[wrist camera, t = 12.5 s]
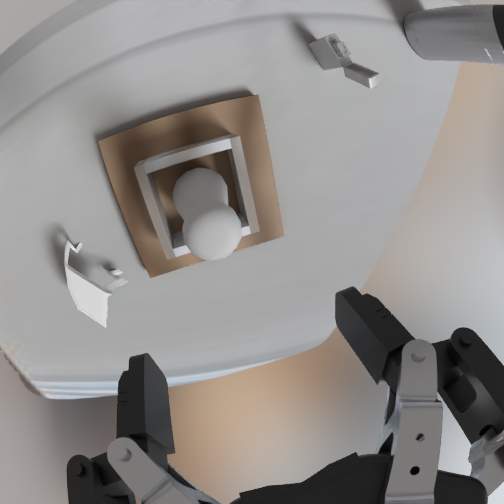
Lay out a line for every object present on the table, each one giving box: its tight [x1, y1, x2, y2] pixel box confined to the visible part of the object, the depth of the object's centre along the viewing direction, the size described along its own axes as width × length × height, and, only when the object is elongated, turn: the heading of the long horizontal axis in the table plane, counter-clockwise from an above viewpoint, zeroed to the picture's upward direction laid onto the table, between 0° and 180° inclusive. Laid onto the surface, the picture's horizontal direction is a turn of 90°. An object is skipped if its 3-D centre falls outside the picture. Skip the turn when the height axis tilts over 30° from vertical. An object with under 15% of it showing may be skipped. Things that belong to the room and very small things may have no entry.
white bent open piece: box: [64, 240, 128, 328], centre depth 30 cm, size 12×8×5 cm
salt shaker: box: [173, 168, 242, 260], centre depth 24 cm, size 6×6×13 cm
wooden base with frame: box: [98, 95, 284, 278], centre depth 29 cm, size 18×18×6 cm
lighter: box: [308, 33, 380, 88], centre depth 24 cm, size 7×2×8 cm, turn 34°
